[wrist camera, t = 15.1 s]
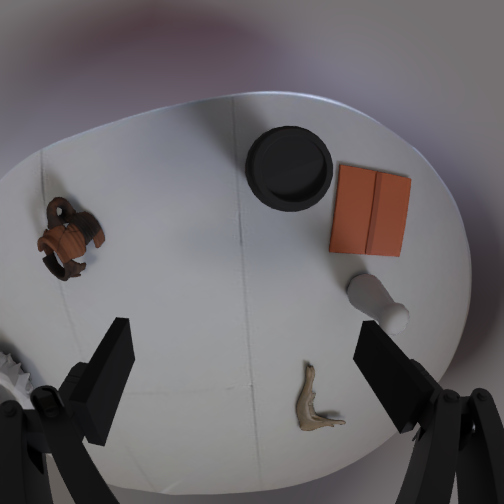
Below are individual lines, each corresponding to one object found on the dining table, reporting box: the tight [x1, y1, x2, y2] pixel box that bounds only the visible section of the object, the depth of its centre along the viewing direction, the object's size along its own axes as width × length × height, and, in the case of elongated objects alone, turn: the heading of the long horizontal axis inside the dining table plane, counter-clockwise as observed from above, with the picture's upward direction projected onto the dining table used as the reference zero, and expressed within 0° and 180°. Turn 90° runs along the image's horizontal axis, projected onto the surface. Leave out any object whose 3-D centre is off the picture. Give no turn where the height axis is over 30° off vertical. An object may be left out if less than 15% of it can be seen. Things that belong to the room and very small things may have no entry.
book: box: [329, 165, 411, 257], centre depth 42 cm, size 13×13×1 cm
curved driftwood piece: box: [297, 365, 346, 431], centre depth 51 cm, size 9×20×2 cm, turn 29°
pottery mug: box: [38, 197, 105, 281], centre depth 36 cm, size 12×10×8 cm
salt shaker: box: [347, 274, 410, 335], centre depth 39 cm, size 6×6×13 cm
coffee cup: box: [245, 126, 333, 212], centre depth 32 cm, size 8×8×15 cm
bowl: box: [0, 352, 34, 409], centre depth 40 cm, size 21×20×10 cm
